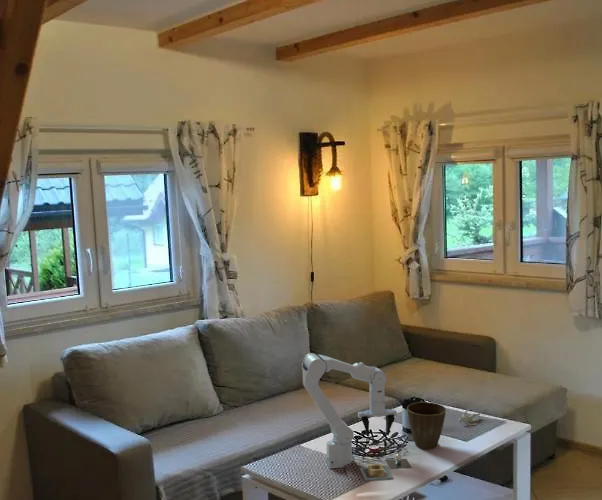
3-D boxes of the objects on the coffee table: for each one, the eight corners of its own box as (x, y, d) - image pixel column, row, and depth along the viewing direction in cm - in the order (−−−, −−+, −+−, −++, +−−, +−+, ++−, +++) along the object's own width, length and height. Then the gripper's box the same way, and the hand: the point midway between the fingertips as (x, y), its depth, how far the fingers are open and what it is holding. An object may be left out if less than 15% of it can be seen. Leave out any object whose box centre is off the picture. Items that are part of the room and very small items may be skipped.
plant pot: (432, 438, 289) (432, 399, 287) (453, 451, 275) (453, 411, 273) (400, 444, 283) (400, 405, 281) (420, 457, 269) (420, 417, 268)
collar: (370, 478, 252) (370, 470, 251) (367, 472, 257) (367, 464, 256) (384, 477, 252) (384, 469, 252) (381, 471, 257) (381, 463, 257)
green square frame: (365, 483, 249) (365, 479, 249) (359, 471, 259) (359, 467, 259) (393, 481, 250) (393, 477, 250) (386, 469, 260) (386, 465, 260)
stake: (390, 471, 258) (390, 459, 258) (385, 462, 266) (385, 451, 266) (411, 470, 259) (411, 458, 259) (406, 461, 267) (406, 449, 267)
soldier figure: (486, 424, 304) (470, 423, 296) (478, 430, 307) (462, 429, 299) (478, 408, 309) (462, 406, 301) (470, 414, 311) (454, 412, 303)
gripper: (360, 404, 262) (360, 440, 264) (398, 402, 264) (398, 437, 266) (356, 398, 269) (357, 433, 271) (394, 396, 271) (394, 430, 273)
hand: (377, 434), depth 269 cm, fingers open, 7 cm apart
